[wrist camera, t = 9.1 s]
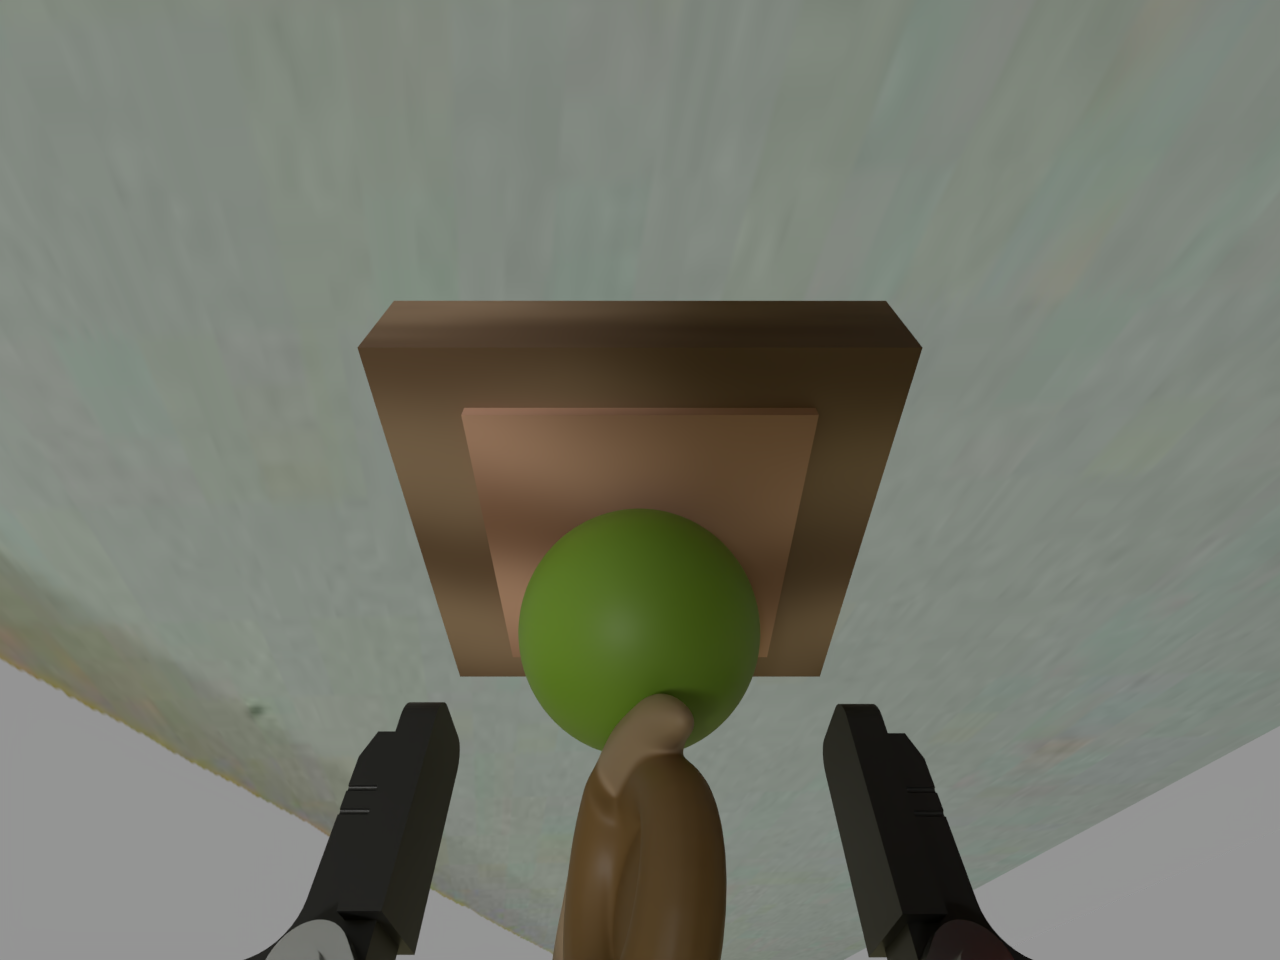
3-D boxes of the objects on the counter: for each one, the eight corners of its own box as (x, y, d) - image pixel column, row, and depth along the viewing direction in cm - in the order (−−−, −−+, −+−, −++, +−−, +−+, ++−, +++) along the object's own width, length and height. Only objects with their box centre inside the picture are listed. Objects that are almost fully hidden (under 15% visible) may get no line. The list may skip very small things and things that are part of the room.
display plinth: (393, 300, 15) (352, 354, 13) (886, 300, 15) (927, 354, 13) (475, 616, 23) (458, 684, 20) (804, 616, 23) (821, 684, 20)
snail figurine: (512, 609, 18) (352, 1288, 8) (567, 435, 14) (387, 1310, 5) (687, 649, 19) (718, 1300, 9) (781, 496, 15) (990, 1324, 6)
